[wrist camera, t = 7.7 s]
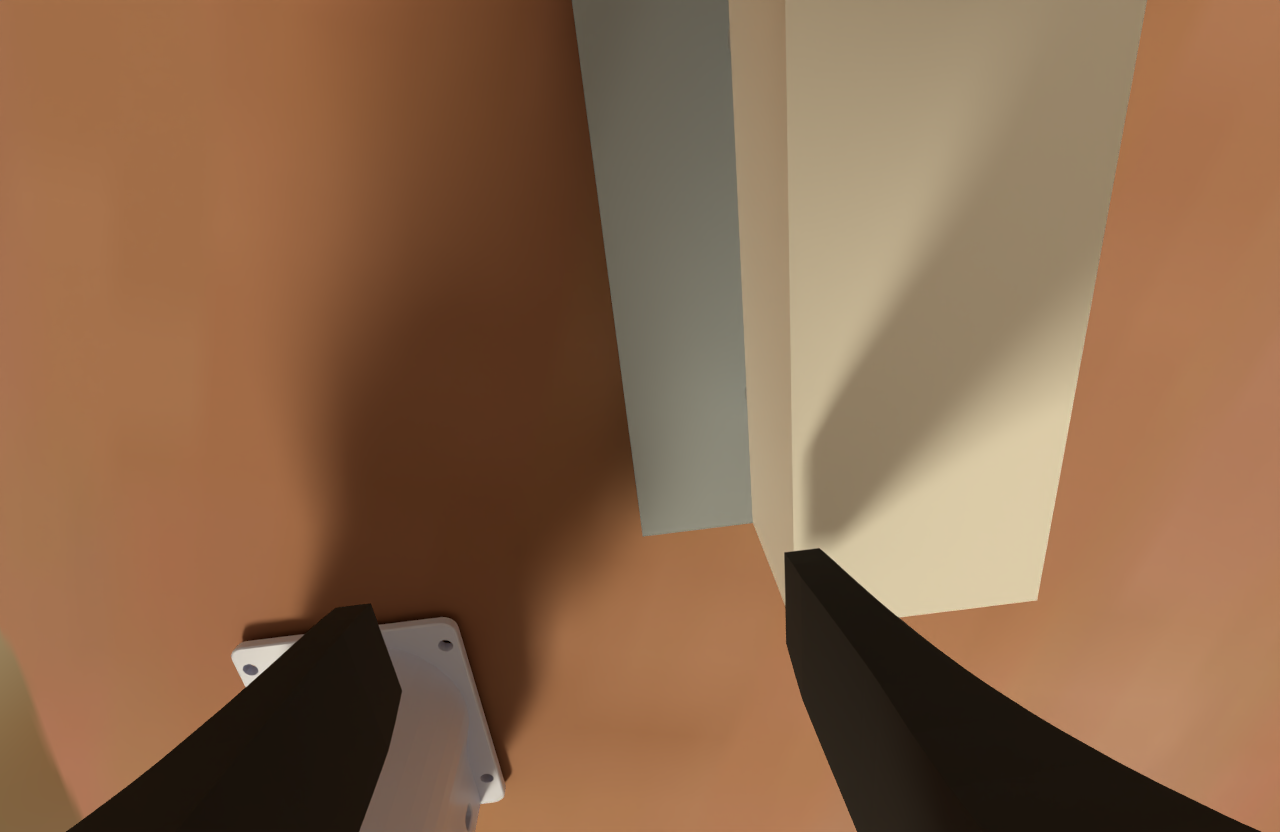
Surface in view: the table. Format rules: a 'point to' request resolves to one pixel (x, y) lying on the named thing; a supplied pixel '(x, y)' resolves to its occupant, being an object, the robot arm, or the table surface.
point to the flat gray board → (672, 249)
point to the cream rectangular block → (921, 276)
